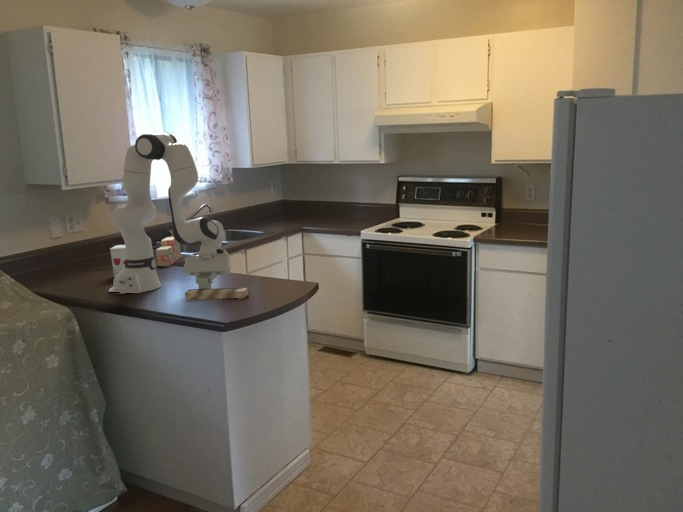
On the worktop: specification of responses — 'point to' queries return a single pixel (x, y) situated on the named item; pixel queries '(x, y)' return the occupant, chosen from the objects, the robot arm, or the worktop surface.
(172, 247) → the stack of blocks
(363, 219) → the worktop surface
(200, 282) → the post
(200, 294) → the maple plank
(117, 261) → the supplement box
